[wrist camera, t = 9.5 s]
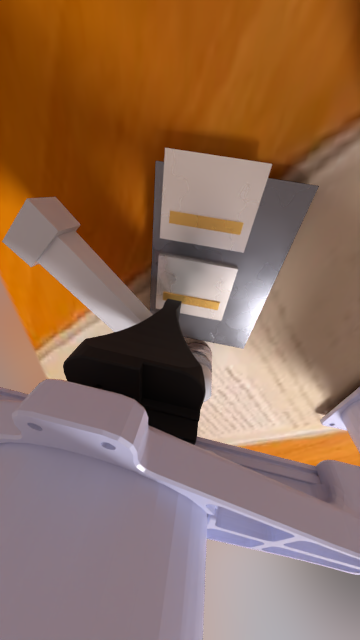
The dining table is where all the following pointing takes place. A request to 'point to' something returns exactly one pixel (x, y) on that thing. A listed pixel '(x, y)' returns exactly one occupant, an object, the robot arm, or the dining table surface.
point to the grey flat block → (220, 242)
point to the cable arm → (76, 265)
